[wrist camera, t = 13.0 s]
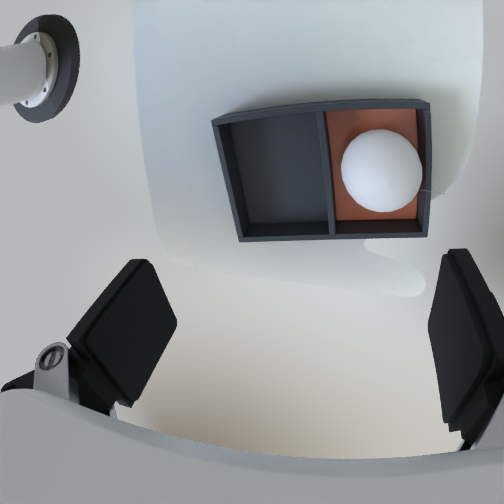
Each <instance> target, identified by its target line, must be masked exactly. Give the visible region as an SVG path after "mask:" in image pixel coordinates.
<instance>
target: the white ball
mask: <svg viewBox="0 0 504 504" xmlns="http://www.w3.org/2000/svg"><path fill="white" fill-rule="evenodd" d="M341 173H342V180H343V182H344V184H345V186H346V189H347V191H348V193H349V195H350V196H351V197H352V198H353V199H354V200H355V201H356V202H357V203H358V204H360V205H361V206H363V207H365V208H366V209H369V210H372V211H376V212H392V211H394V210H397V209H400V208H402V207H404V206H405V205H407V204H408V203H409V202H411V201H412V199H413V198H414V197H415V195H416V194H417V192H418V191H419V188H420V185H421V182H422V164H421V159H420V156H419V154H418V151H417V150H416V148H415V146H414V145H413V144H412V143H410V142H409V141H408V140H407V139H406V138H404V137H403V136H401V135H400V134H398V133H395V132H392V131H389V130H385V129H377V130H369V131H367V132H364V133H362V134H360V135H358V136H357V137H356V138H355V139H354V140H352V141H351V142H350V144H349V146H348V147H347V149H346V151H345V152H344V154H343V159H342V163H341ZM424 191H426V190H424ZM430 192H433V191H430ZM436 193H438V192H436ZM442 194H444V193H442Z"/></svg>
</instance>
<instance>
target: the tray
mask: <svg viewBox="0 0 504 504" xmlns="http://www.w3.org/2000/svg"><path fill="white" fill-rule="evenodd" d="M211 122H212V126H213V131H214V136H215V140H216V144H217V149H218V153H219V158H220V162H221V166H222V171H223V175H224V179H225V184H226V188H227V192H228V197H229V201H230V205H231V209H232V214H233V218H234V222H235V226H236V231H237V235H238V239H239V242H262V241H294V240H329V239H369V238H410V237H411V238H415V237H427V236H428V225H429V214H430V198H431V192H430V191H431V173H432V139H431V114H430V103H428V102H425V101H422V100H420V99H359V100H339V101H324V102H313V103H302V104H293V105H284V106H276V107H269V108H262V109H255V110H249V111H243V112H237V113H231V114H226V115H222V116H220V117H218V118H215V119H213V120H211ZM377 129H385V130H389V131H392V132H395V133H398V134H400V135H401V136H403V137H404V138H406V139H407V140H408V141H409V142H410V143H412V144H413V145H414V146H415V148H416V150H417V151H418V154H419V156H420V159H421V164H422V182H421V185H420V188H419V191H418V192H417V194H416V195H415V197H414V198H413V199H412V201H411V202H409V203H408V204H407V205H405V206H404V207H402V208H400V209H397V210H394V211H392V212H376V211H372V210H369V209H366V208H365V207H363V206H361V205H360V204H358V203H357V202H356V201H355V200H354V199H353V198H352V197H351V196H350V195H349V193H348V191H347V189H346V186H345V184H344V182H343V180H342V173H341V163H342V159H343V154H344V152H345V151H346V149H347V147H348V146H349V144H350V142H351V141H352V140H354V139H355V138H356V137H357V136H358V135H360V134H362V133H364V132H367V131H369V130H377ZM424 190H426V191H424Z"/></svg>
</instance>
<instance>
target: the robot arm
mask: <svg viewBox="0 0 504 504" xmlns="http://www.w3.org/2000/svg"><path fill="white" fill-rule="evenodd" d="M57 73H58V53H57V48H56V45H55V43H54V41H53V39H52V38H51V36H50V35H48V34H47V33H44V32H35V33H31V34H30V35H28V36H27V37H25V38H24V39H23V41H22V42H21V43H20V44H14V45H9V46H3V47H0V109H1V108H4V107H6V106H9V105H12V104H15V103H18V102H20V103H21V104H22V105H23V106H25V107H29V108H31V107H35V106H38V105H40V104H42V103H43V102H44V101H45V100H46V99H47V98H48V97H49V95H50V94H51V92H52V90H53V87H54V85H55V81H56V78H57ZM176 327H177V319H176V317H175V315H174V312H173V310H172V308H171V306H170V304H169V301H168V299H167V297H166V295H165V292H164V290H163V288H162V285H161V283H160V281H159V279H158V276H157V274H156V271H155V269H154V267H153V265H152V264H151V263H149V261H148V260H147V259H132V260H130V261H129V262H128V263H127V264H126V265H125V266H124V268H123V269H122V270H121V271H120V272H119V273H118V275H117V276H116V277H115V278H114V279H113V280H112V282H111V283H110V284H109V285H108V287H106V289H105V290H104V291H103V292H102V294H101V295H100V296H99V297H98V298H97V300H96V301H95V302H94V303H93V305H92V306H91V307H90V308H89V309H88V311H87V312H86V313H85V315H84V316H83V317H82V318H81V320H80V321H79V322H78V323H77V325H76V326H75V327H74V329H73V330H72V331H71V332H70V334H69V335H68V336H67V338H66V339H67V340H68V342H69V343H70V344H71V348H70V349H69V348H68V347H67V346H66V344H64V343H62V342H56V343H53V344H51V345H49V346H47V347H46V348H45V349H44V350H43V351H42V352H41V353H40V354H39V356H38V358H37V360H36V363H35V370H33V371H31V372H29V373H27V374H25V375H23V376H21V377H18V378H16V379H14V380H12V381H10V382H8V383H6V384H5V385H4V386H3V387H2V389H1V393H0V504H504V316H503V314H502V311H501V309H500V307H499V305H498V303H497V301H496V299H495V297H494V295H493V294H492V292H490V290H489V288H488V286H487V284H486V282H485V281H484V278H483V277H482V275H481V273H480V271H479V269H478V267H477V265H476V263H475V262H474V260H473V258H472V256H471V254H470V253H469V251H468V250H467V249H466V248H464V249H450V250H449V251H448V253H447V254H444V255H443V256H442V260H441V265H440V271H439V276H438V281H437V286H436V291H435V295H434V300H433V304H432V308H431V312H430V316H429V320H428V333H429V337H430V342H431V346H432V352H433V357H434V362H435V368H436V373H437V380H438V385H439V393H440V400H441V408H442V416H443V421H444V423H448V425H449V432H453V431H459V430H461V436H462V439H463V441H462V443H461V444H460V446H459V447H458V449H457V450H456V451H455V452H448V453H440V454H431V455H423V456H412V457H399V458H378V459H321V458H304V457H291V456H280V455H271V454H262V453H255V452H249V451H242V450H236V449H230V448H224V447H219V446H213V445H209V444H204V443H200V442H195V441H190V440H186V439H182V438H178V437H174V436H171V435H167V434H163V433H159V432H156V431H153V430H149V429H146V428H142V427H139V426H136V425H133V424H130V423H127V422H124V421H121V420H118V419H117V416H116V411H115V406H114V403H115V401H117V402H118V403H119V404H120V405H123V406H126V407H130V408H131V407H132V405H133V404H134V402H135V401H136V400H138V398H139V397H140V395H141V393H142V391H143V389H144V387H145V386H146V384H147V382H148V380H149V378H150V376H151V374H152V372H153V370H154V368H155V367H156V364H157V363H158V361H159V359H160V357H161V355H162V354H163V352H164V350H165V348H166V346H167V344H168V342H169V340H170V339H171V337H172V335H173V333H174V331H175V329H176Z"/></svg>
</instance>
